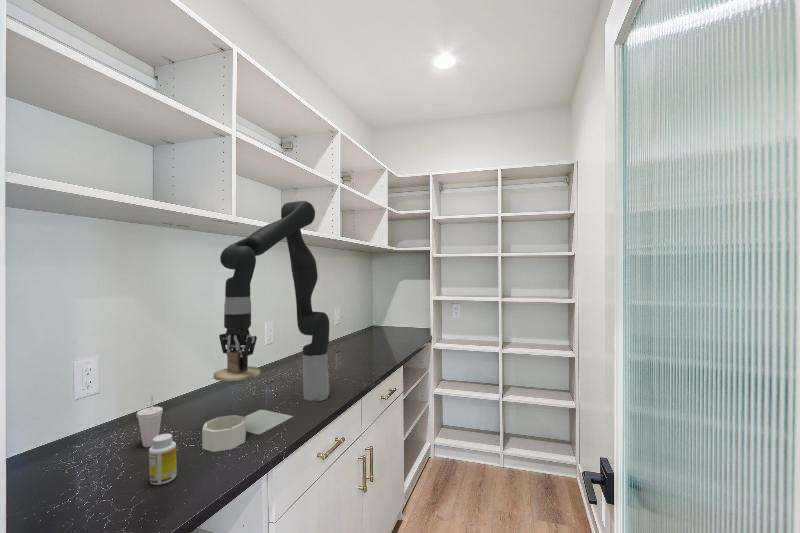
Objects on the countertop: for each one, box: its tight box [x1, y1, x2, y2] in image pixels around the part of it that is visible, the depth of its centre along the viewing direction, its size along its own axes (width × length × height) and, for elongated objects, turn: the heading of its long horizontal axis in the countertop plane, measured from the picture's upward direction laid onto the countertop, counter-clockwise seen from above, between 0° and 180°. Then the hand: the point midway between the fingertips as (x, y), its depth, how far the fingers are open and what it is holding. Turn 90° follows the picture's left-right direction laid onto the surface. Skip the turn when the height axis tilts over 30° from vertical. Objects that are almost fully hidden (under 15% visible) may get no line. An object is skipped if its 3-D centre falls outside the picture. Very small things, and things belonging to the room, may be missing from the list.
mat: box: [244, 409, 294, 436], centre depth 123 cm, size 15×15×1 cm
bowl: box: [201, 414, 247, 453], centre depth 109 cm, size 11×11×6 cm
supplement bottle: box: [148, 433, 178, 486], centre depth 91 cm, size 6×6×10 cm
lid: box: [213, 350, 261, 382], centre depth 114 cm, size 13×13×7 cm
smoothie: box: [136, 394, 164, 448], centre depth 109 cm, size 6×6×14 cm
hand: (237, 368), depth 114 cm, fingers closed on lid, 4 cm apart
